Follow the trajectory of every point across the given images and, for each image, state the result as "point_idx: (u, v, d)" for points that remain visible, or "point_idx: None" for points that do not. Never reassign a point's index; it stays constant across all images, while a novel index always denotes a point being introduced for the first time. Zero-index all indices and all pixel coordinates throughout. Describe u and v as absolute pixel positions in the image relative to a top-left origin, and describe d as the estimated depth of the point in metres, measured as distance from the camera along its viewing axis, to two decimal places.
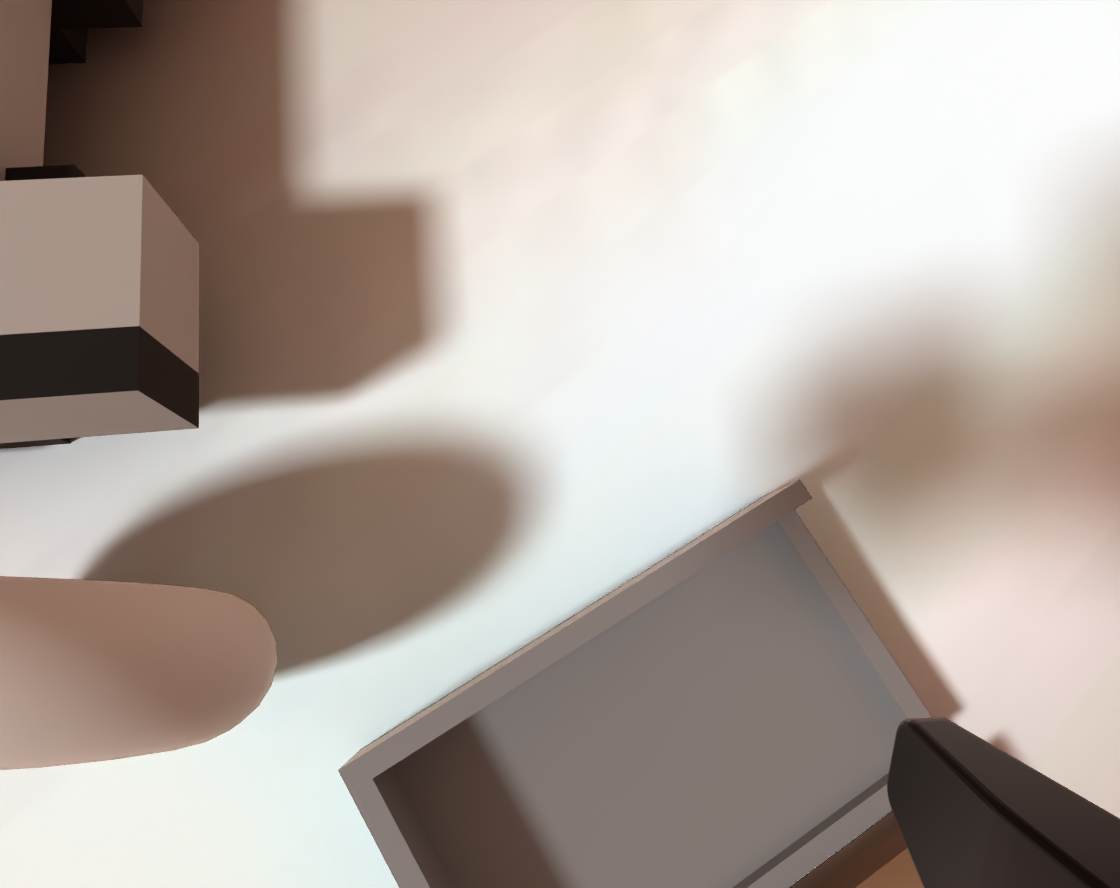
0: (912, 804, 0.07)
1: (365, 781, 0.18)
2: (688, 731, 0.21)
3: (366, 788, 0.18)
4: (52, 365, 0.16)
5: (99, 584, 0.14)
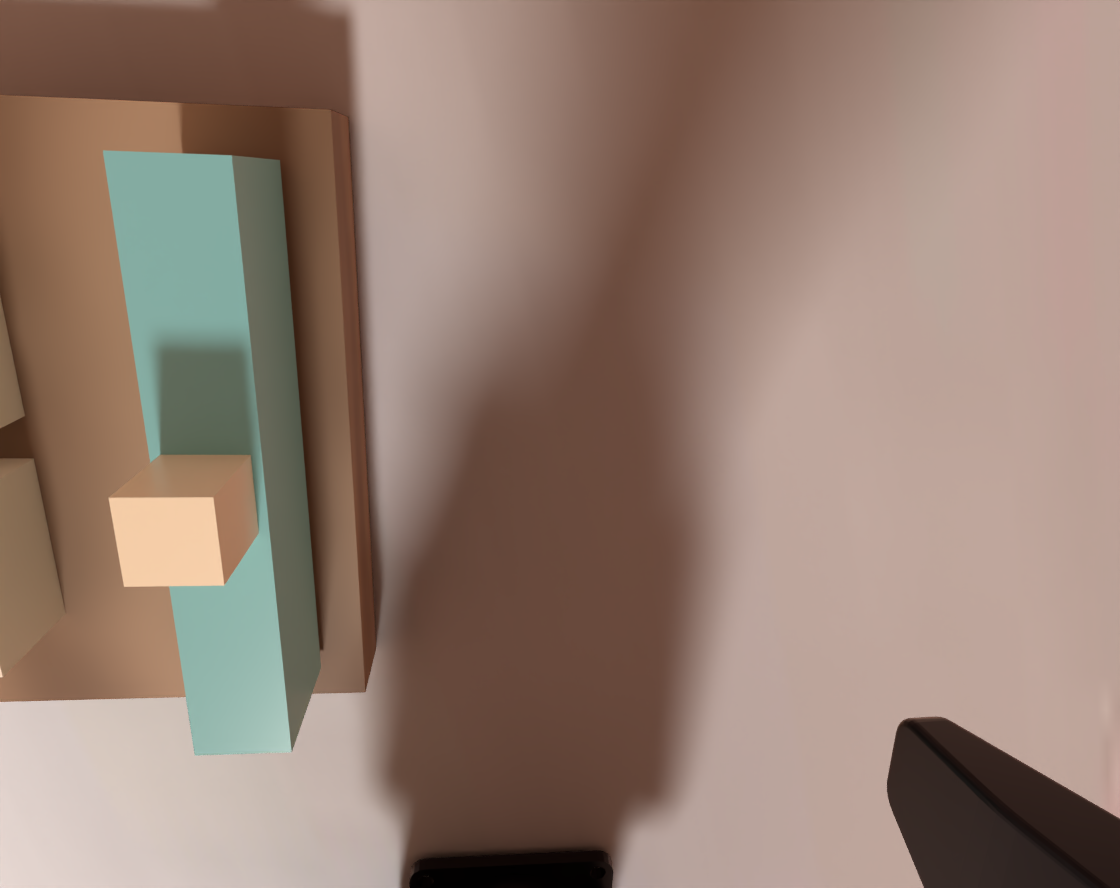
0: (912, 804, 0.07)
1: None
2: None
3: None
4: None
5: None
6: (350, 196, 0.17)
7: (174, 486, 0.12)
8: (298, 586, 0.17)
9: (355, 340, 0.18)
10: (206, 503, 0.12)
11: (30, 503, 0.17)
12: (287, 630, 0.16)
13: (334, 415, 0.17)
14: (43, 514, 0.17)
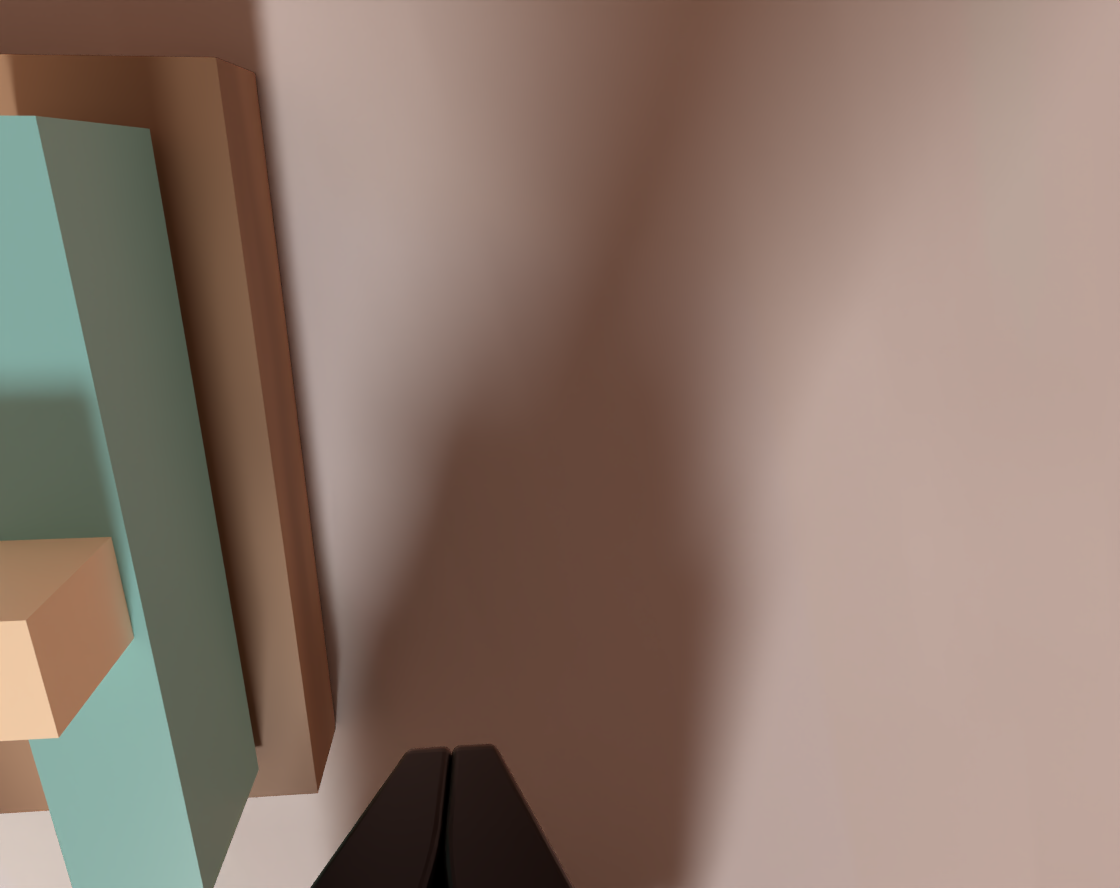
0: None
1: None
2: None
3: None
4: None
5: None
6: (263, 177, 0.13)
7: None
8: (212, 684, 0.13)
9: (281, 362, 0.14)
10: (16, 629, 0.08)
11: None
12: (191, 751, 0.12)
13: (252, 461, 0.13)
14: None
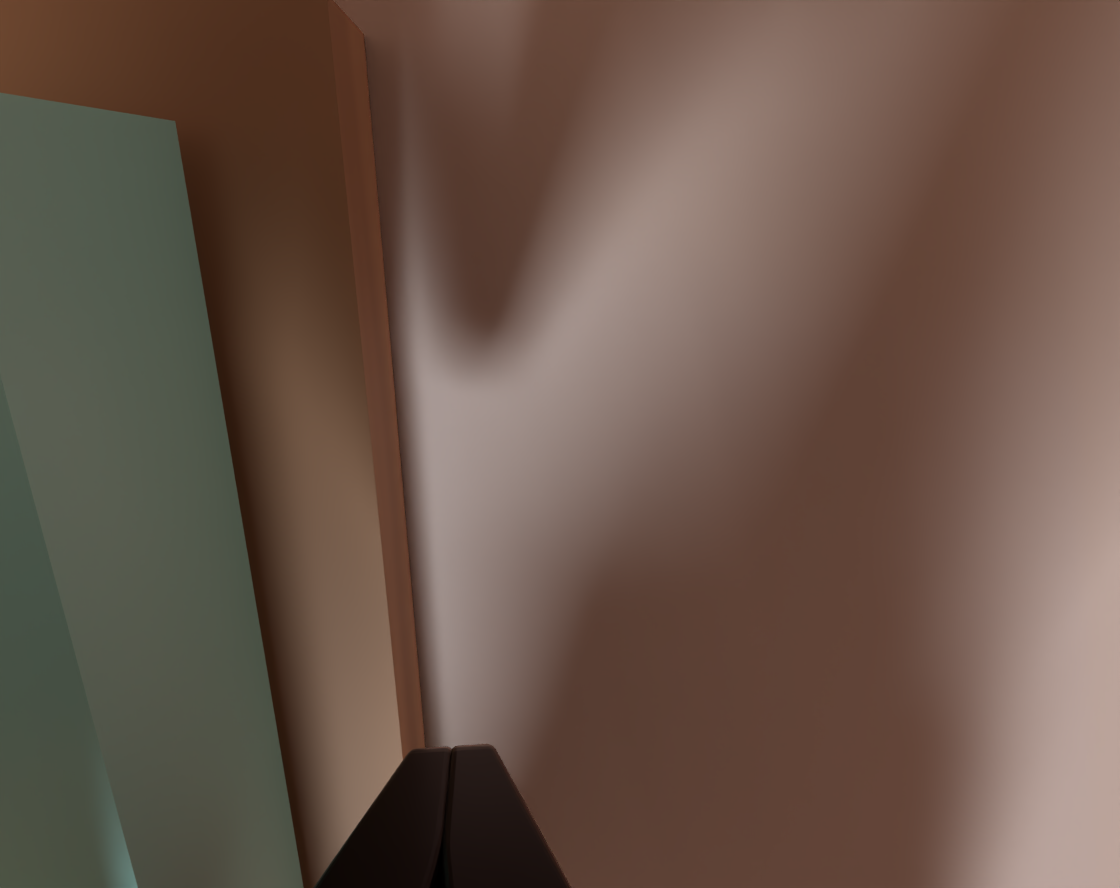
0: None
1: None
2: None
3: None
4: None
5: None
6: (374, 198, 0.09)
7: None
8: None
9: (394, 478, 0.09)
10: None
11: None
12: None
13: (362, 646, 0.08)
14: None
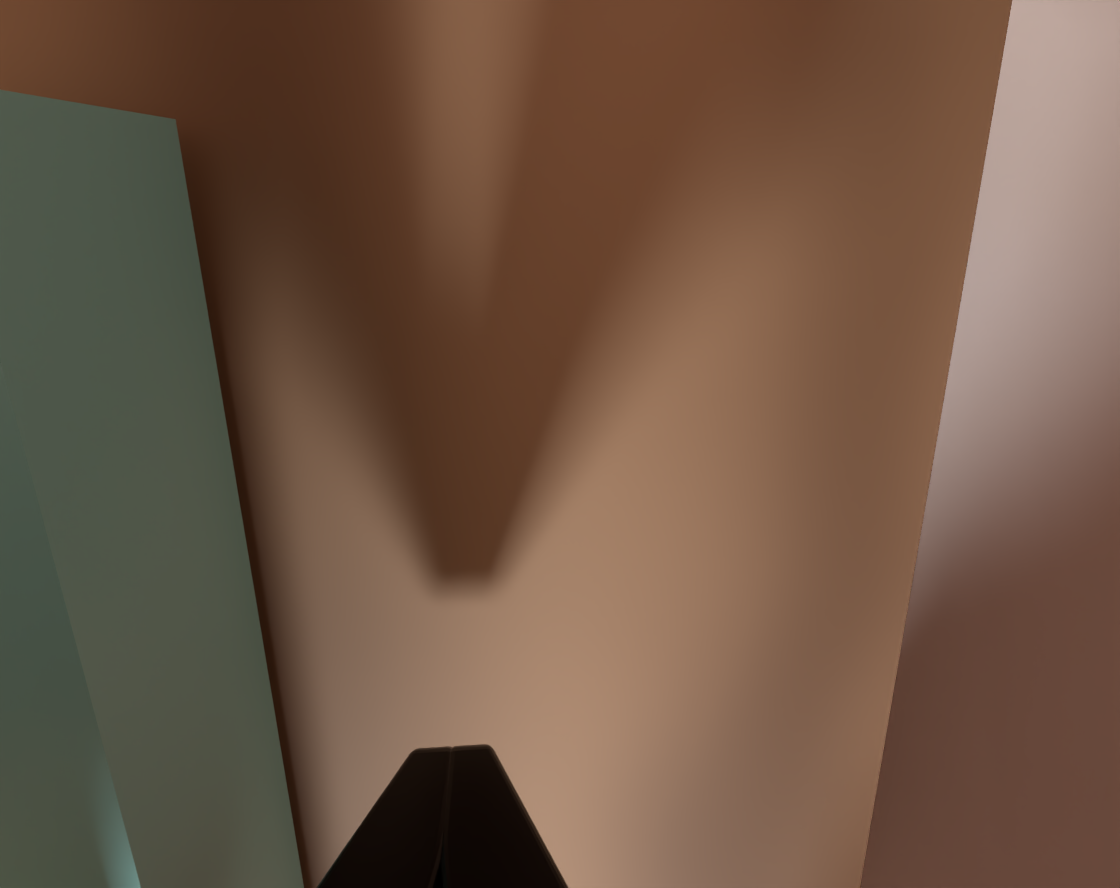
0: None
1: None
2: None
3: None
4: None
5: None
6: None
7: None
8: None
9: None
10: None
11: None
12: None
13: (881, 613, 0.09)
14: None
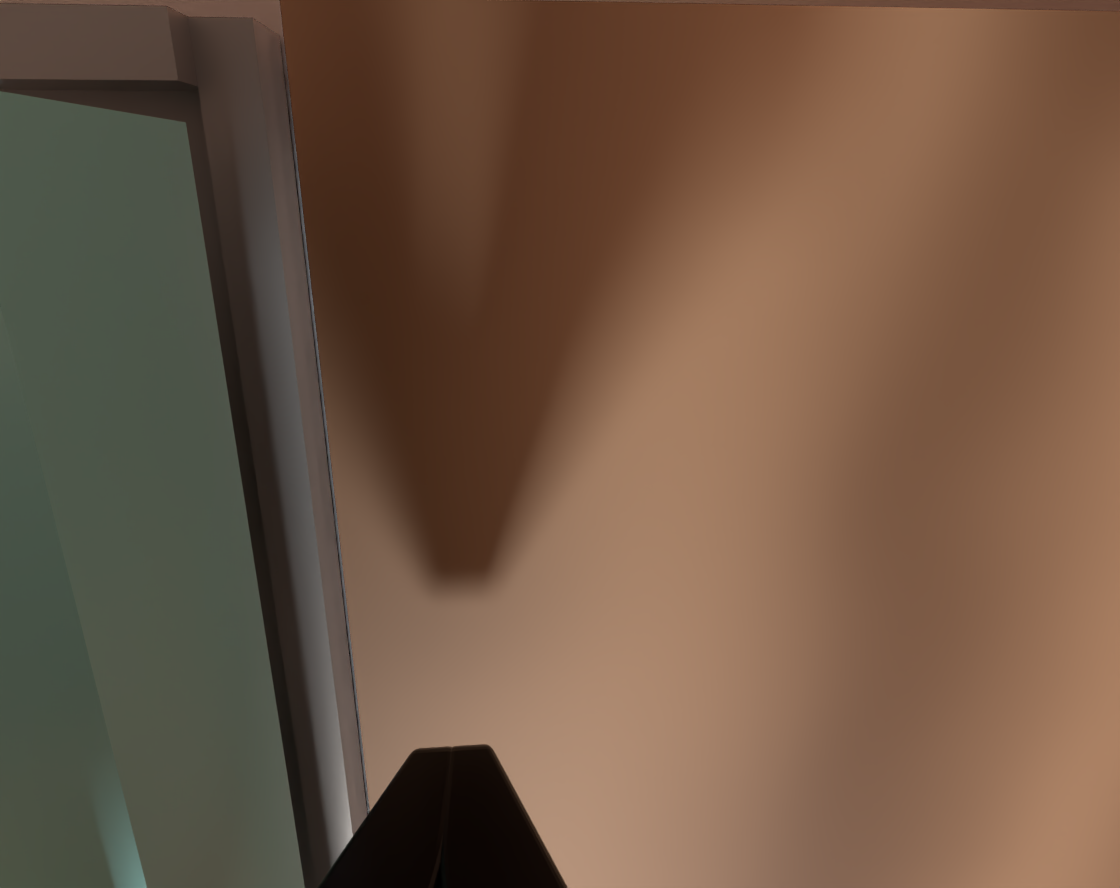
0: None
1: None
2: None
3: None
4: None
5: None
6: None
7: None
8: None
9: None
10: None
11: None
12: None
13: None
14: None
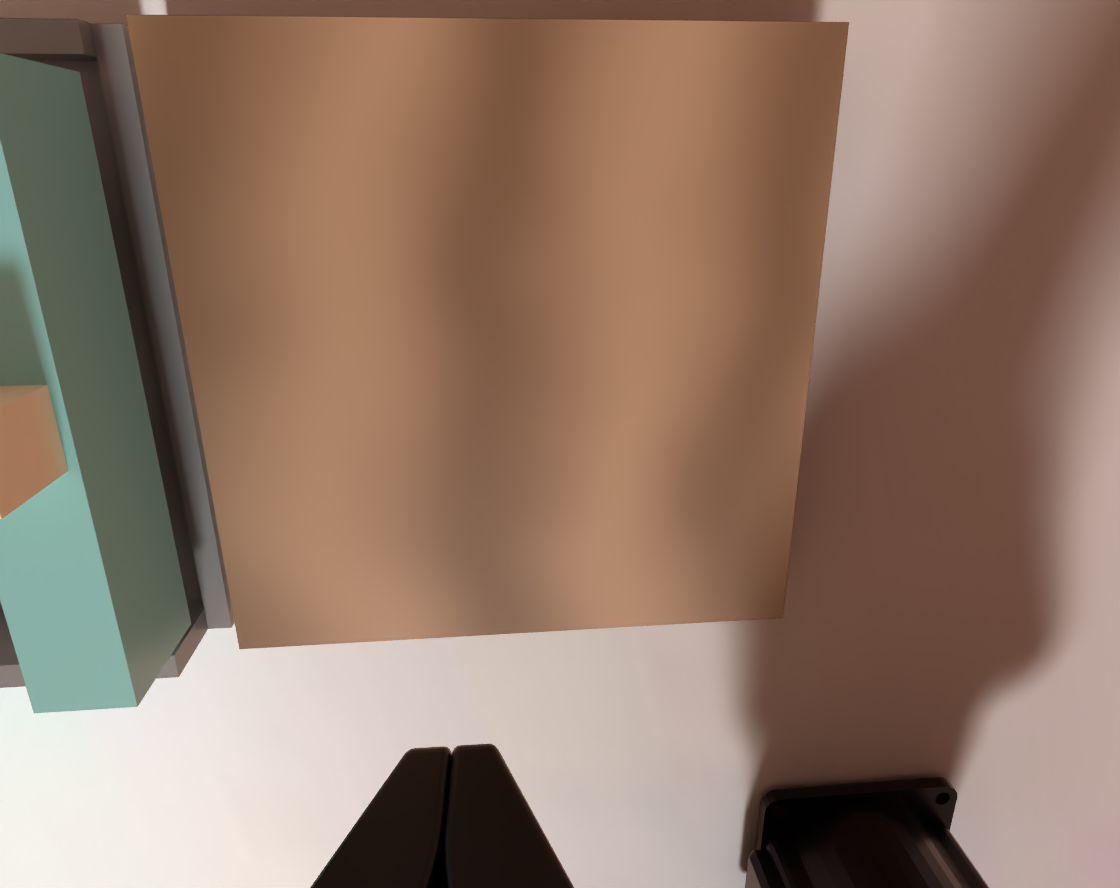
0: None
1: None
2: None
3: None
4: None
5: None
6: None
7: None
8: (142, 533, 0.16)
9: None
10: None
11: None
12: (122, 577, 0.15)
13: (800, 337, 0.17)
14: None
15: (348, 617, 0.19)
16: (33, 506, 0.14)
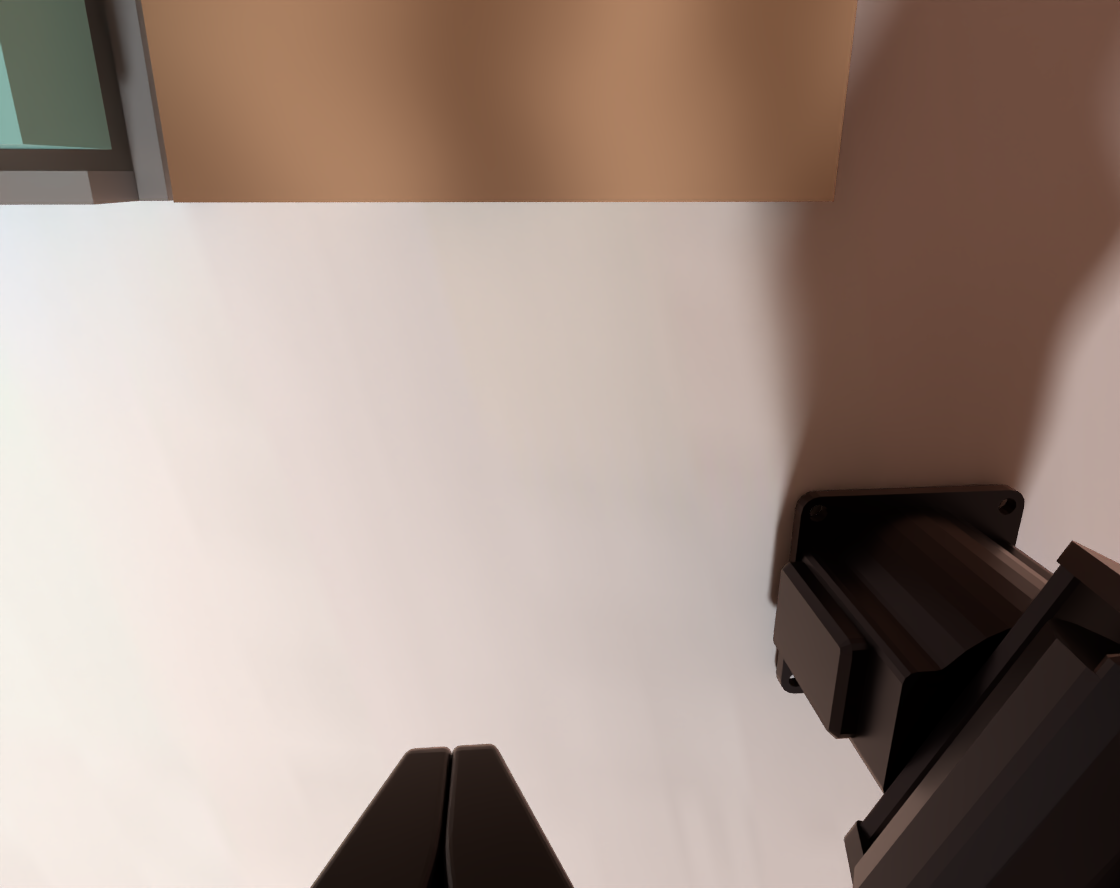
0: None
1: None
2: None
3: None
4: None
5: None
6: None
7: None
8: None
9: None
10: None
11: None
12: None
13: None
14: None
15: (307, 164, 0.15)
16: None
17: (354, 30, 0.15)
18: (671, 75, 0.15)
